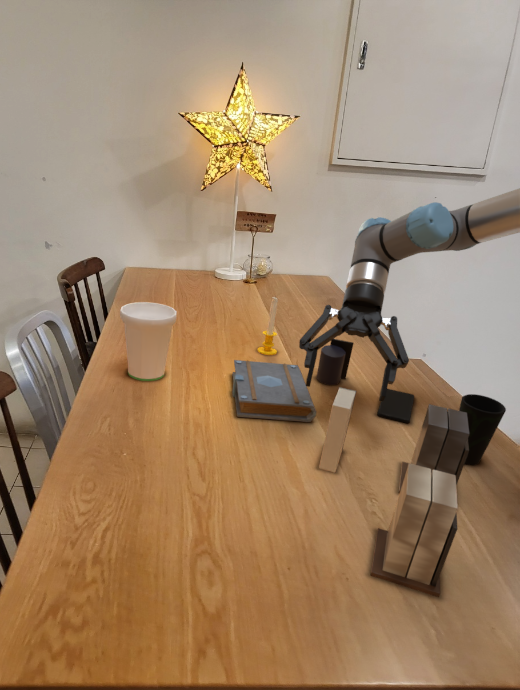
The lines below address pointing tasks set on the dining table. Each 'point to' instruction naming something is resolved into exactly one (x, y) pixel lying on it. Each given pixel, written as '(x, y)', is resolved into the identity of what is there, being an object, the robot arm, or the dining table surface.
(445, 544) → the white books
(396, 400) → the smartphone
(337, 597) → the dining table surface
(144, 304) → the cup
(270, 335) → the candle
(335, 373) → the speaker
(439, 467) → the grey books
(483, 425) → the cup
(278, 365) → the book
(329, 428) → the beige rectangular block
